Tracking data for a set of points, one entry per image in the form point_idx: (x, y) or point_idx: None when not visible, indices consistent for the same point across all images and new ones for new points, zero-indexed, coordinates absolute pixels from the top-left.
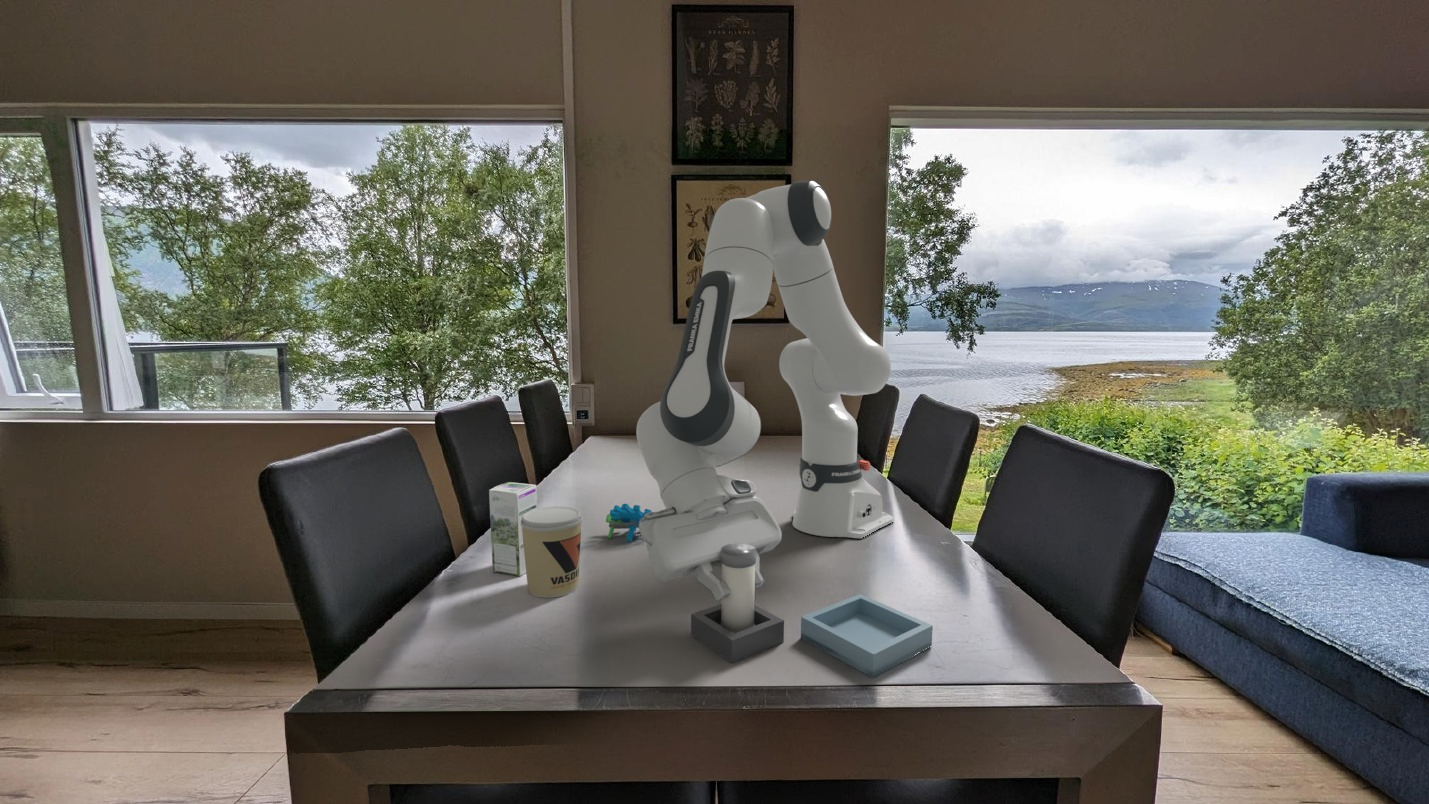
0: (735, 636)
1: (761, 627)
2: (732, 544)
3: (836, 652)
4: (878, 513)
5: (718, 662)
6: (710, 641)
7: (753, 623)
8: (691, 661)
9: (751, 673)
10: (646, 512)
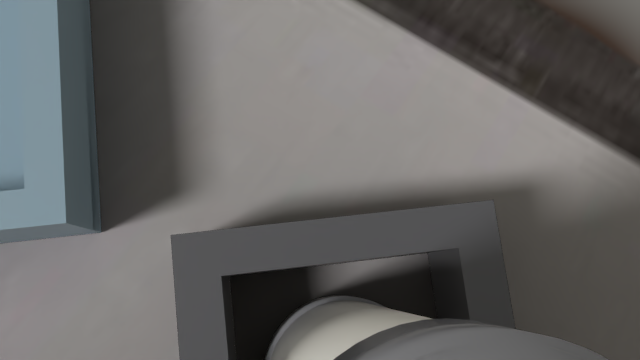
0: (463, 223)
1: (311, 234)
2: None
3: (83, 34)
4: None
5: None
6: None
7: (299, 318)
8: (582, 303)
9: (428, 124)
10: None
